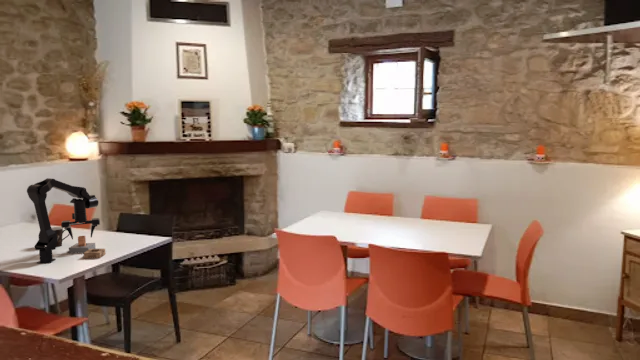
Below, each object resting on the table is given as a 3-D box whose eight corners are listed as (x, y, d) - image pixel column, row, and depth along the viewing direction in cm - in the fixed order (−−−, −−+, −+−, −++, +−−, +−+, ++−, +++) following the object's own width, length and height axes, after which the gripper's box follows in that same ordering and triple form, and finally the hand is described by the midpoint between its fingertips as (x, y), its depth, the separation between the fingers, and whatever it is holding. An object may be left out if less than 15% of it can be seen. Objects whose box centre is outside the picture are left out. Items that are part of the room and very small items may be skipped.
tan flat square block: (100, 258, 263) (99, 252, 263) (84, 258, 263) (83, 252, 262) (105, 254, 271) (105, 248, 271) (90, 254, 271) (89, 248, 270)
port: (88, 252, 273) (88, 247, 273) (69, 253, 273) (68, 247, 272) (95, 248, 283) (95, 242, 283) (76, 248, 283) (76, 243, 282)
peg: (84, 251, 277) (83, 236, 276) (78, 251, 276) (77, 237, 275) (86, 249, 280) (85, 235, 279) (80, 250, 279) (79, 235, 278)
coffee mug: (44, 248, 283) (43, 230, 282) (49, 244, 292) (48, 227, 291) (67, 247, 286) (66, 229, 284) (71, 243, 294) (70, 226, 293)
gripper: (98, 206, 286) (100, 233, 288) (61, 209, 279) (63, 236, 281) (98, 209, 276) (100, 237, 278) (60, 212, 269) (62, 241, 271)
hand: (81, 238), depth 277 cm, fingers open, 9 cm apart
